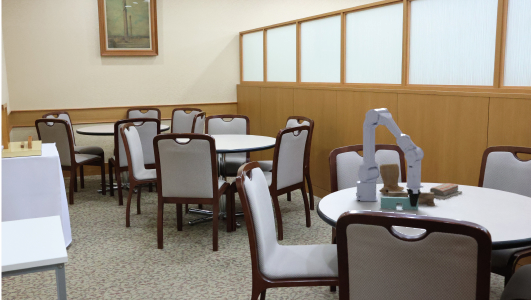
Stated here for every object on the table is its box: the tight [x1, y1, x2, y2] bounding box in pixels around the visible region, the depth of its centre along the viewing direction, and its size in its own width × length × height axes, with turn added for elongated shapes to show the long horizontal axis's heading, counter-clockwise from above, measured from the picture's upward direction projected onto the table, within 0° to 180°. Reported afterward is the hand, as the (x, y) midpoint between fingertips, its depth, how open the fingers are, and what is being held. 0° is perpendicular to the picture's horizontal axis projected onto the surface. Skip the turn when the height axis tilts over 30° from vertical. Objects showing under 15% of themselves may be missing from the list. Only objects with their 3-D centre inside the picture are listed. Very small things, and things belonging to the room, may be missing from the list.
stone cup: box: [379, 162, 405, 196], centre depth 237 cm, size 15×12×15 cm
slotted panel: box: [380, 196, 419, 211], centre depth 208 cm, size 16×2×5 cm, turn 79°
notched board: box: [387, 191, 436, 207], centre depth 217 cm, size 20×8×5 cm, turn 79°
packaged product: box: [427, 182, 463, 200], centre depth 231 cm, size 18×5×10 cm
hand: (413, 205), depth 207 cm, fingers closed on slotted panel, 1 cm apart
